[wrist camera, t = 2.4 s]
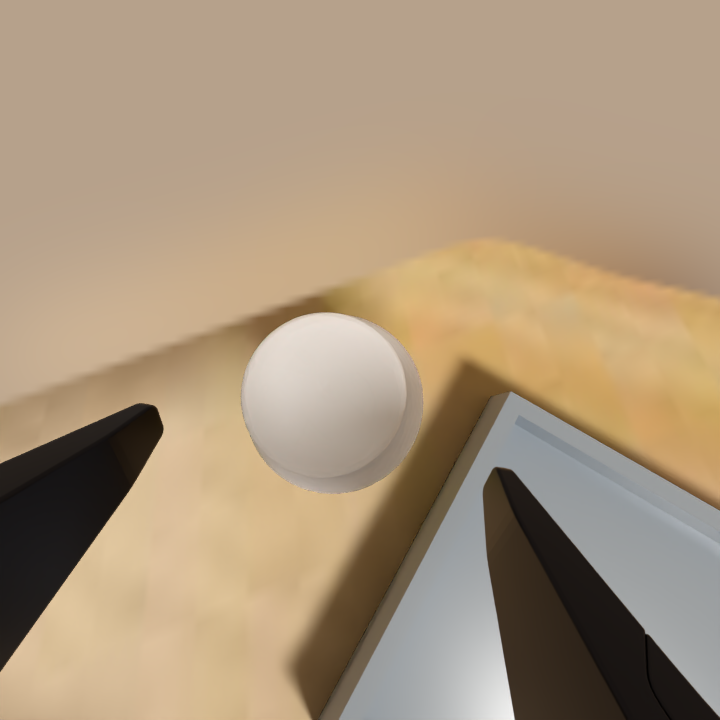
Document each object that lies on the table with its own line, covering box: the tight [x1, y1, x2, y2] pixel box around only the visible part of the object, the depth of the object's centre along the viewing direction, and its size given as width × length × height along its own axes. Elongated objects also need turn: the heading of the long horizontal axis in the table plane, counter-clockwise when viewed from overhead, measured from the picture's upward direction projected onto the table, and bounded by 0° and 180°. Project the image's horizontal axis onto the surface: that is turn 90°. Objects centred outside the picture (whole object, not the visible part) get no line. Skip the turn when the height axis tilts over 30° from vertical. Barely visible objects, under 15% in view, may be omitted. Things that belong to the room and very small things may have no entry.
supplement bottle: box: [241, 312, 423, 494], centre depth 12 cm, size 6×6×10 cm
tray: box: [318, 391, 720, 720], centre depth 13 cm, size 18×18×2 cm
